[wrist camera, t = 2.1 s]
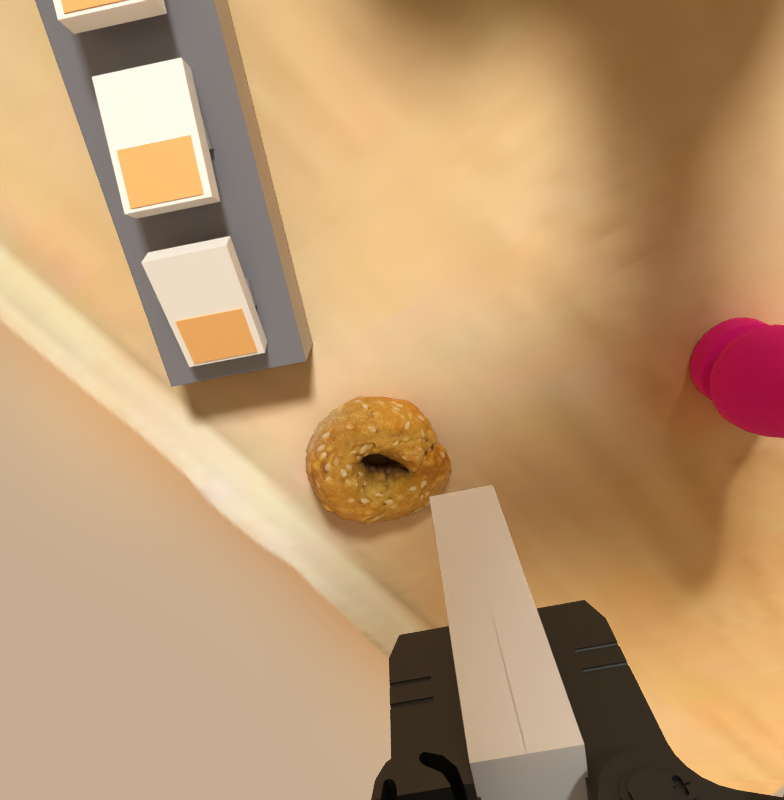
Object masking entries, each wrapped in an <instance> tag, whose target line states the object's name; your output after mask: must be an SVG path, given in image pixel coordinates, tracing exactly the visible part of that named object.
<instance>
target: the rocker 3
mask: <svg viewBox="0 0 784 800" xmlns="http://www.w3.org/2000/svg"><path fill="white" fill-rule="evenodd" d="M141 263H142V265H143V267H144V269H145V272H146V274H147V276H148V278H149V280H150V282H151V285H152V287H153V289H154V291H155V293H156V295H157V298H158V300H159V302H160V304H161V306H162V309H163V311H164V313H165V315H166V317H167V319H168V322H169V324H170V326H171V328H172V330H173V333H174V335H175V337H176V339H177V341H178V343H179V346H180V348H181V350H182V352H183V354H184V356H185V359H186V361H187V363H188V365H189V367H193V366H198V365H203V364H209V363H214V362H219V361H224V360H230V359H235V358H240V357H246V356H251V355H256V354H261V353H265V350H266V345H267V339H266V336H265V334H264V331H263V328H262V325H261V322H260V319H259V317H258V314H257V311H256V308H255V305H254V302H253V300H252V297H251V294H250V291H249V288H248V285H247V283H246V280H245V277H244V274H243V271H242V268H241V266H240V263H239V260H238V257H237V254H236V251H235V249H234V246H233V243H232V240H231V237H230V236H228V237H223V238H218V239H213V240H208V241H203V242H198V243H193V244H188V245H183V246H178V247H173V248H168V249H163V250H158V251H153V252H148V253H147V255H146V256H145V258H144V259H143V261H142V262H141Z"/></svg>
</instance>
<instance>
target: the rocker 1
mask: <svg viewBox="0 0 784 800" xmlns="http://www.w3.org/2000/svg"><path fill="white" fill-rule="evenodd" d="M53 2H54V6H55V10H56V14H57V19H58V21H60V22H61V23H62V24H63V25H64V26H65V27H67V28H68V29H69V30H70V31H71V32H72V33H74V34H77V33H81V32H86V31H90V30H95V29H99V28H104V27H108V26H113V25H117V24H122V23H127V22H131V21H136V20H140V19H145V18H149V17H154V16H158V15H163V14H167V11H166V7H165V2H164V0H53Z"/></svg>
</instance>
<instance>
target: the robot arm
mask: <svg viewBox="0 0 784 800" xmlns="http://www.w3.org/2000/svg"><path fill="white" fill-rule="evenodd" d="M429 498H430V505H431V512H432V518H433V525H434V531H435V538H436V545H437V551H438V558H439V565H440V571H441V578H442V584H443V591H444V598H445V604H446V611H447V617H448V624H449V626H447V627H442V628H436V629H431V630H425V631H420V632H414V633H408V634H403V635H399V637H398V639H397V642H396V644H395V646H394V648H393V651H392V653H391V655H390V658H389V675H390V705H391V710H390V719H391V759H390V760H389V761H387V762H386V763H385V765H384V766H383V768H382V770H381V772H380V773H379V775H378V776H377V778H376V780H375V784H374V789H373V794H372V799H371V800H784V796H783V797H777V796H770V795H764V794H758V793H752V792H746V791H740V790H735V789H731V788H727V787H724V786H720V785H717V784H715V783H713V782H711V781H709V780H707V779H704V778H702V777H701V776H699V775H698V774H696V773H695V772H694V771H692V770H691V769H689V768H688V767H687V766H686V765H685V764H684V763H683V762H682V761H681V760H680V759H679V758H678V757H677V756H676V755H675V754H674V752H673V751H672V749H671V748H670V746H669V745H668V743H667V742H666V740H665V738H664V736H663V734H662V731H661V729H660V727H659V725H658V723H657V721H656V719H655V717H654V715H653V713H652V711H651V709H650V707H649V705H648V703H647V701H646V699H645V697H644V695H643V693H642V691H641V689H640V687H639V685H638V683H637V681H636V679H635V677H634V675H633V673H632V671H631V669H630V667H629V666H628V664H627V661H626V659H625V657H624V655H623V653H622V651H621V649H620V647H619V646H618V644H617V640H616V638H615V636H614V634H613V632H612V630H611V628H610V626H609V624H608V622H607V620H606V618H605V617H604V616H602V615H601V614H600V613H599V612H598V611H597V610H595V609H594V608H593V607H592V606H591V605H590V604H588V603H587V602H586V601H585V600H582V601H576V602H571V603H565V604H560V605H554V606H549V607H543V608H538V609H537V608H536V606H535V603H534V600H533V597H532V594H531V591H530V588H529V586H528V583H527V580H526V577H525V574H524V571H523V569H522V566H521V563H520V560H519V557H518V554H517V552H516V549H515V546H514V543H513V540H512V537H511V534H510V532H509V529H508V526H507V523H506V520H505V517H504V515H503V512H502V509H501V506H500V503H499V500H498V498H497V495H496V492H495V489H494V486H493V485H487V486H482V487H477V488H472V489H467V490H462V491H456V492H451V493H446V494H441V495H436V496H431V497H429Z"/></svg>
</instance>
